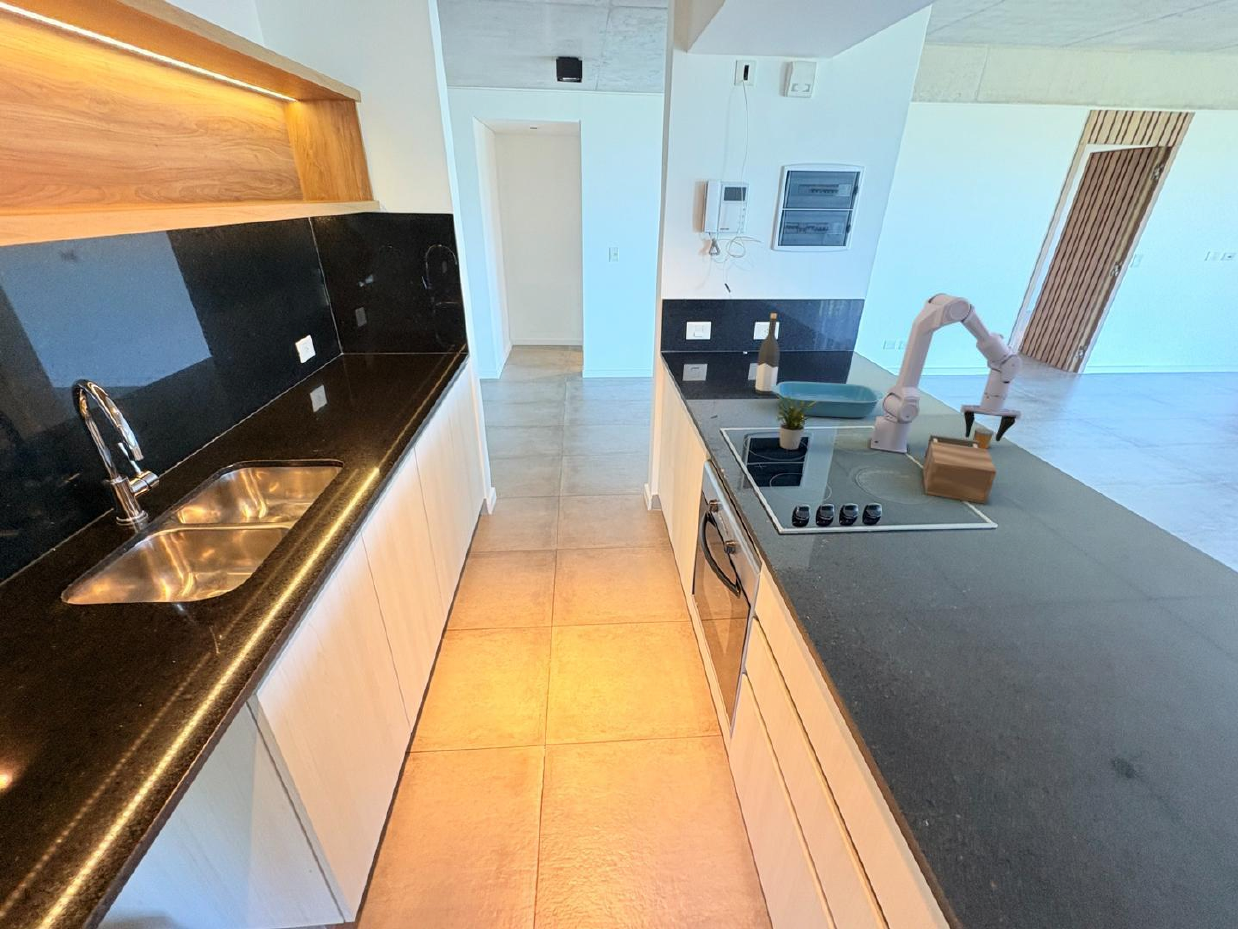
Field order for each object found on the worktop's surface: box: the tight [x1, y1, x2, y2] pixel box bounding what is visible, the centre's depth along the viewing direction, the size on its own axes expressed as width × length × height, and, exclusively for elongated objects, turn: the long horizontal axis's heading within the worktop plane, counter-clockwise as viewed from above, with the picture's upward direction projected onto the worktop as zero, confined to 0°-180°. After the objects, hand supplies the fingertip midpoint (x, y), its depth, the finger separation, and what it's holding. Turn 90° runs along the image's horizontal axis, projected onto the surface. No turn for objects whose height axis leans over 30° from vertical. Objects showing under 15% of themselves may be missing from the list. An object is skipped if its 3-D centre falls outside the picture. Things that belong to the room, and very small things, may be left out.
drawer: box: [923, 433, 979, 459], centre depth 141 cm, size 18×11×7 cm, turn 155°
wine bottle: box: [754, 312, 781, 396], centre depth 202 cm, size 8×8×30 cm
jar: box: [971, 427, 994, 449], centre depth 157 cm, size 5×5×5 cm
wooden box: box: [922, 442, 997, 505], centre depth 132 cm, size 15×13×9 cm
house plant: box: [772, 393, 818, 450], centre depth 155 cm, size 14×14×16 cm
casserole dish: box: [772, 381, 884, 419], centre depth 187 cm, size 37×22×7 cm, turn 78°
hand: (982, 438), depth 157 cm, fingers open, 7 cm apart
